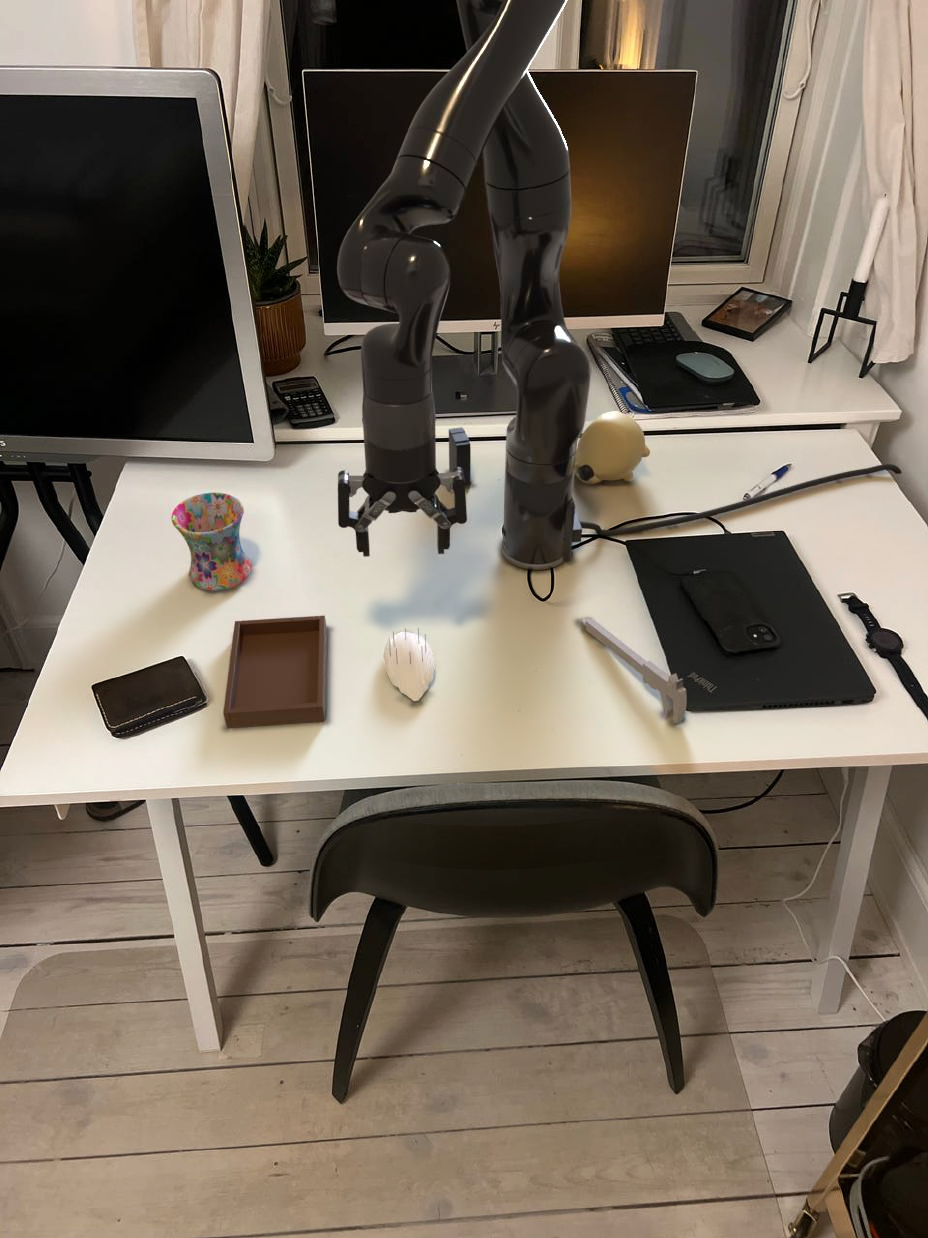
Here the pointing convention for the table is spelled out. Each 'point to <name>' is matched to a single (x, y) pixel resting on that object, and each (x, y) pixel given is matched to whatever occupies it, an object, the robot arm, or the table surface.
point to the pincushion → (409, 663)
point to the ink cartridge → (460, 452)
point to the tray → (277, 672)
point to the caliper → (645, 671)
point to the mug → (213, 539)
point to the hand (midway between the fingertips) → (403, 551)
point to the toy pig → (610, 449)
